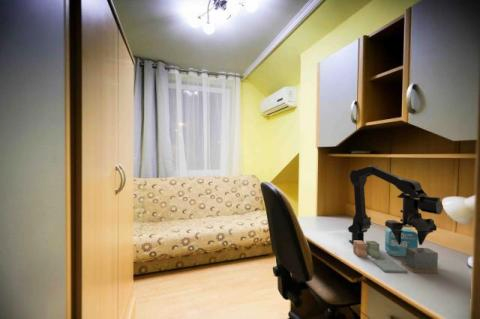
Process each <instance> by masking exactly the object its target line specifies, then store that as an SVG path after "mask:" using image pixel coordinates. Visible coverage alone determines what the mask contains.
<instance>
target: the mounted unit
mask: <svg viewBox="0 0 480 319" xmlns="http://www.w3.org/2000/svg"><path fill="white" fill-rule="evenodd" d="M438 258H439V253H438V252H437V251H435V250H433V249H430V248H428V247H418V248H406V257H405V261H401V263H400V264H401V265H400V266H402V267H403V268H405V269H406V270H408V271H409V272H410V271H411V273H413V274H439V272H440V271H439V269H438V267H439V266H438V265H439V263H438Z"/></svg>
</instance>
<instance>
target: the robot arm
mask: <svg viewBox="0 0 480 319" xmlns="http://www.w3.org/2000/svg"><path fill="white" fill-rule="evenodd" d="M370 176H375V177H376V178H379V179H381V180H383V181H385V182H387V183H388V184H389V183H390V184H391V185H393V186H394V187H396V189H398V190H399V191H400V192H401V193H400V194H398V195H396V196H397V198H399V199H402V209H400V210H399V211H400V213H401V214H402V218H400V220H399V221H397V220H393V219H387V220H385V222H384V225H385V227H387V228H390V229H391V231H392V232H393V234H394V236H395V238H396V240H397V243H398V244H399V245H400V244H401V233H402V232H403V231H402V230H401V229H404V228H414V229H415V230H416V233H417V234H418V245H419V246H422V245H423V243H424V241H425V239H426V238H427V236H428V235H429V234H431V233H434V232H435V231H437V224H435V221H434V219H433V218H423V217H422V216H423V215H422V213H421V212H424V213H429V214H434V215H441V214H442V212H443V209H444V206H443V203H442V201H441V197H439V196H428V195H427V194H426V192H425V191H424V189H423V188H422V185H421V182H419V181H417V180H415V179H414V180H413V179H410V178H405V177H401V176H398V175H396V174H394V173H391V172H389V171H388V170H387V171H386V170H384V169H383V168H379V167H378V166H377V165H369V166H367V167H364V168H360V169H353V170H351V171H350V172H349V179H350V182H351V184H352V185H353V193H354V195H353V196H354V208H355V209H354V210H355V213H354V216H353V218H352V224H350V226H348V227H347V231H348V232H349V233H351V239H349V240H348V242H350V244H352V245H353V246H354V240H358V241H363V242H365V241H364V238H365V237H364V236H365V233H367V232H368V230H369V229H370V228H371V226H372V222H371V221H372V220H371V219H372V217H371V216H368V215H367V211H366V198H365V197H366V196H365V185H366V183H367V180H368V179H367V178H368V177H370ZM420 211H421V212H420Z"/></svg>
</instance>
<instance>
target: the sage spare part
mask: <svg viewBox="0 0 480 319" xmlns="http://www.w3.org/2000/svg"><path fill="white" fill-rule="evenodd" d="M365 243H366V255H368V256H369V257H370V256H371V258H372V257H374V258H375V257H376V258H379V257H380V243H378V242H377V241H375V240H365Z"/></svg>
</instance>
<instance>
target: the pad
mask: <svg viewBox="0 0 480 319" xmlns="http://www.w3.org/2000/svg"><path fill="white" fill-rule="evenodd" d="M371 263H373V264H374V265H375V266H376V267H378V268H379V269H380V270H381V271H382V272H384V273H404V274H405V273H406V274H407V273H408V269H407V268H405V267H404V266H402V265H400V264H399V263H397V262H395V261H394V260H390V259H388V260H387V259H386V260H385V259H372V260H371Z"/></svg>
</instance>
